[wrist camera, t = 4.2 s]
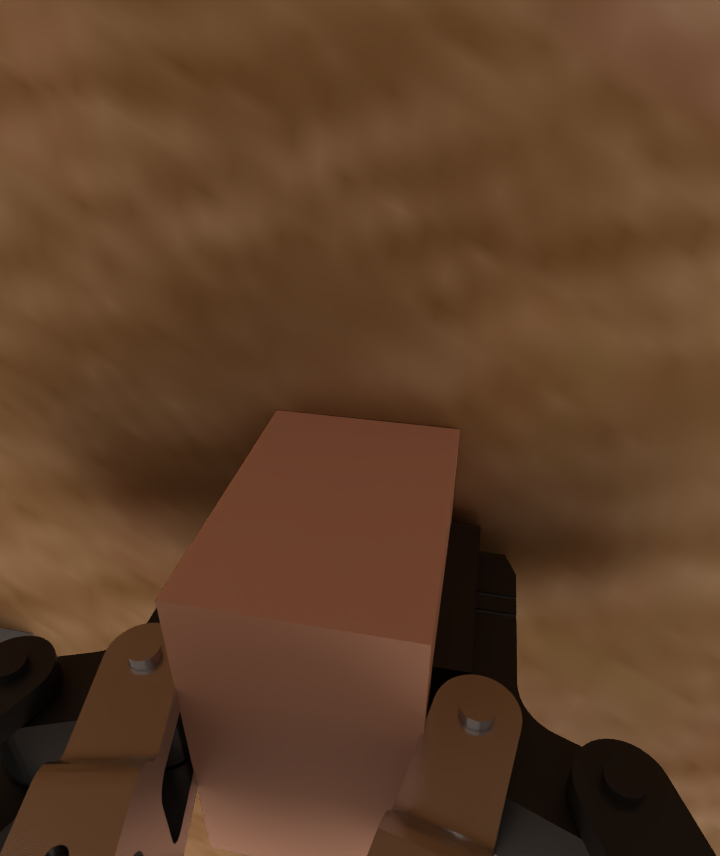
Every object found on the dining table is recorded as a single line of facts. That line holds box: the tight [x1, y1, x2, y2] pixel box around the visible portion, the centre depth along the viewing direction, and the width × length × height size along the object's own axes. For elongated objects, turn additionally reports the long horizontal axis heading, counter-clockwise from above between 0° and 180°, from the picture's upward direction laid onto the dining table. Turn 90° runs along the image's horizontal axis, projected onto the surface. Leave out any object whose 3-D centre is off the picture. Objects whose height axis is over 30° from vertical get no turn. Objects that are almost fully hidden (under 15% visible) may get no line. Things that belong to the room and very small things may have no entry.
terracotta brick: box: [155, 410, 460, 856], centre depth 11 cm, size 6×4×5 cm, turn 0°
